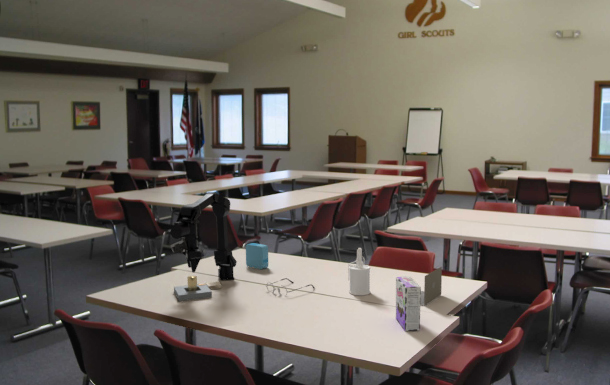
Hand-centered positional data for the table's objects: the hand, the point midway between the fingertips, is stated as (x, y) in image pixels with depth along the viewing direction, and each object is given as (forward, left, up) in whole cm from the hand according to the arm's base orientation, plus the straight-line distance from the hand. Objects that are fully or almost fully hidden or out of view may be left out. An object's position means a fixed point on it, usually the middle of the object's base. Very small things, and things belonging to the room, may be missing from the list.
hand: (191, 269), depth 246 cm
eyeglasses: (-42, +10, -12) cm, 45 cm away
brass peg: (0, 0, -11) cm, 11 cm away
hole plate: (0, 0, -11) cm, 11 cm away
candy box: (-67, +69, -11) cm, 96 cm away
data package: (-40, -35, -11) cm, 55 cm away
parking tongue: (-11, -8, -11) cm, 18 cm away
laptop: (-88, +43, -12) cm, 99 cm away
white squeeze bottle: (-68, +26, -11) cm, 74 cm away
